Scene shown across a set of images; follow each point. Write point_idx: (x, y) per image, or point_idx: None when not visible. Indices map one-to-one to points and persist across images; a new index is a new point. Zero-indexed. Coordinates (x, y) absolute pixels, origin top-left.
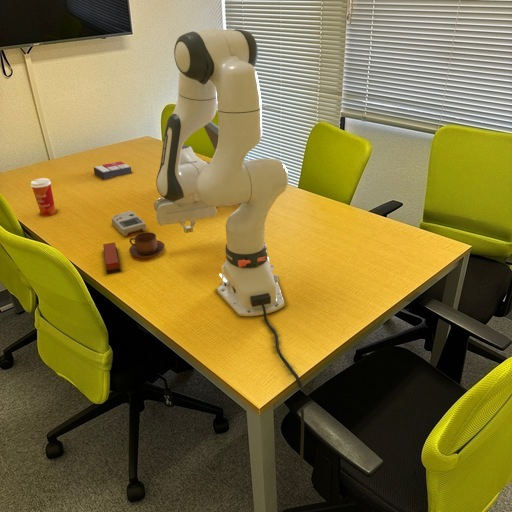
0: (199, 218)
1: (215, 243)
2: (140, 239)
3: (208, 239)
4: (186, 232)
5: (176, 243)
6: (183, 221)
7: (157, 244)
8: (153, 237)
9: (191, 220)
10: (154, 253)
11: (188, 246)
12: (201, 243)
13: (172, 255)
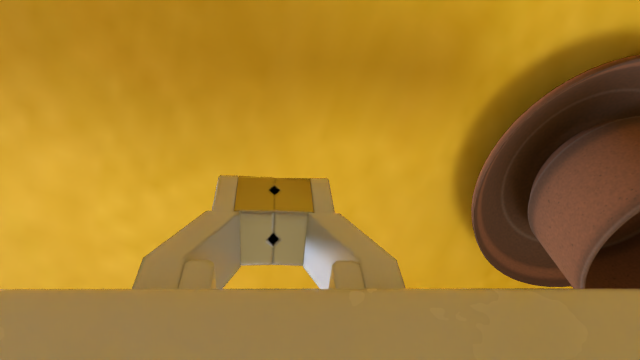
0: (14, 297)
1: (33, 91)
2: (635, 276)
3: (96, 180)
4: (309, 179)
5: (352, 211)
6: (373, 293)
7: (492, 226)
8: (560, 263)
9: (208, 289)
10: (564, 128)
11: (282, 137)
12: (165, 141)
13: (456, 46)
